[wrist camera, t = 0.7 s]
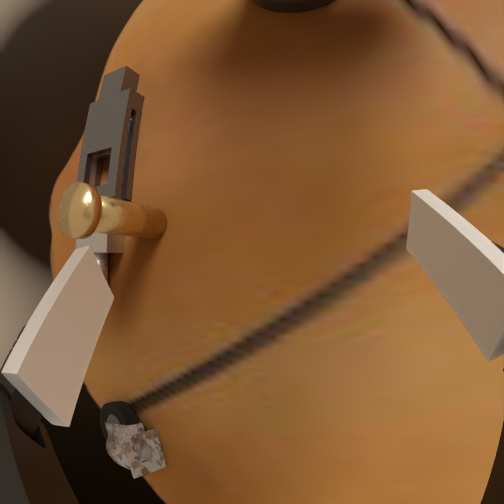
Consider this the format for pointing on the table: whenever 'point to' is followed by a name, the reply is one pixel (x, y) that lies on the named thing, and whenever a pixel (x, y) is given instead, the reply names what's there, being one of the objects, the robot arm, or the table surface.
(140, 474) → the caster wheel
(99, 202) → the clevis pin
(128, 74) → the clevis
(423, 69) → the table surface
